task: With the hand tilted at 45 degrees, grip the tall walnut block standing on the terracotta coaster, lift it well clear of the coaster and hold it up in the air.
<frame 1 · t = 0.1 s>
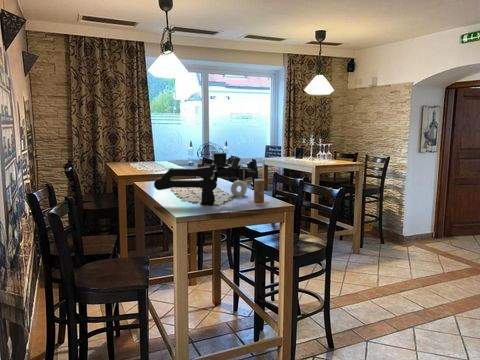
hand: (255, 172, 203), 17 cm above the table, tool horizontal, fingers open, 9 cm apart
donut: (238, 197, 222), on the table
walnut block: (258, 202, 204), point 1 cm above the table, touching coaster
coaster: (258, 204, 204), on the table
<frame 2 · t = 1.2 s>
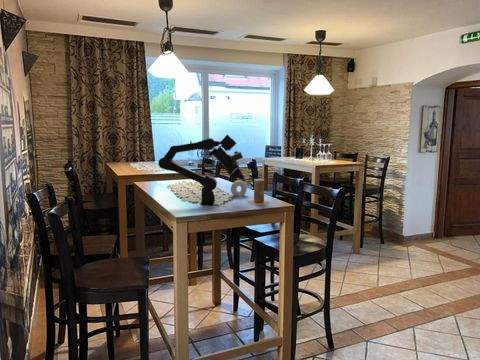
hand: (243, 178, 202), 14 cm above the table, tool tilted 45°, fingers open, 9 cm apart
nothing on the table moved.
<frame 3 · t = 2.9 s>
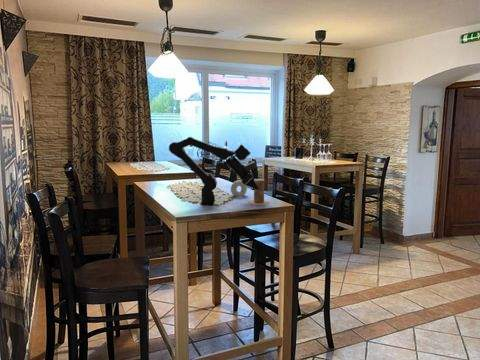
hand: (257, 187, 202), 9 cm above the table, tool tilted 45°, fingers open, 9 cm apart
nothing on the table moved.
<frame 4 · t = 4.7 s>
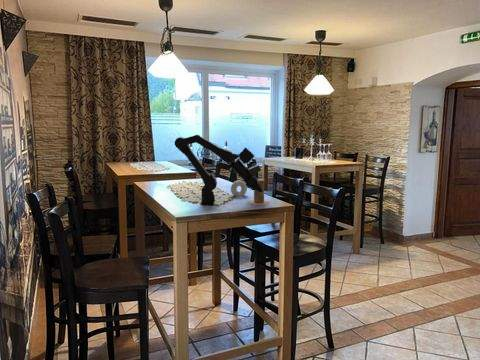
hand: (261, 190, 203), 7 cm above the table, tool tilted 45°, fingers closed on walnut block, 5 cm apart
walnut block: (258, 202, 204), point 1 cm above the table, touching coaster, gripper
everything else where it was.
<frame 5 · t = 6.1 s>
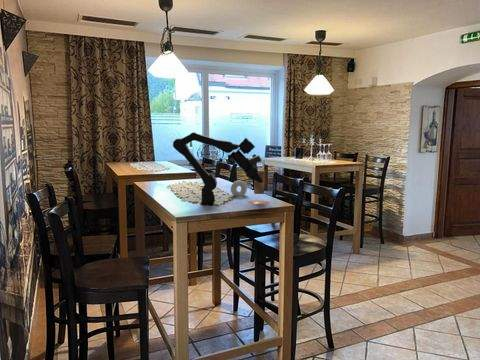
hand: (261, 181, 202), 12 cm above the table, tool tilted 45°, fingers closed on walnut block, 5 cm apart
walnut block: (258, 193, 203), point 6 cm above the table, touching gripper
everything else where it was.
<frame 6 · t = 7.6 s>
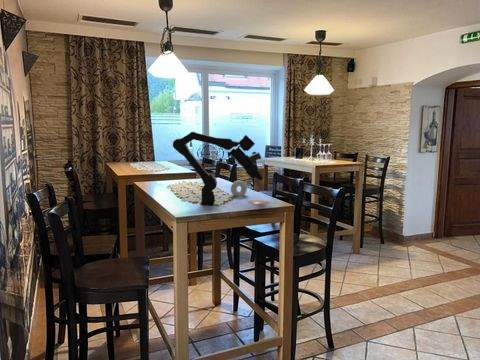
hand: (261, 178, 202), 13 cm above the table, tool tilted 45°, fingers closed on walnut block, 5 cm apart
walnut block: (258, 190, 203), point 7 cm above the table, touching gripper
everything else where it was.
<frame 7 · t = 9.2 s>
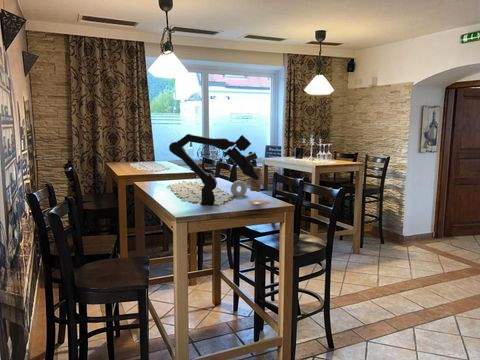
hand: (258, 178, 202), 13 cm above the table, tool tilted 45°, fingers closed on walnut block, 5 cm apart
walnut block: (255, 190, 203), point 7 cm above the table, touching gripper
everything else where it was.
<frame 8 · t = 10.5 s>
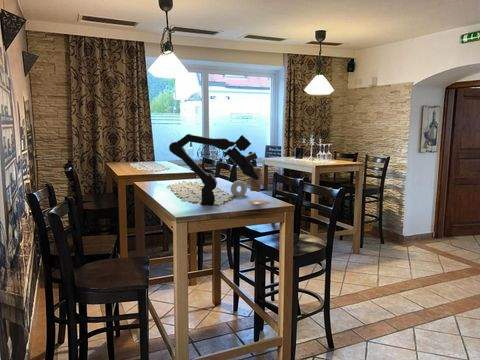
hand: (258, 178, 202), 13 cm above the table, tool tilted 45°, fingers closed on walnut block, 5 cm apart
walnut block: (255, 190, 203), point 7 cm above the table, touching gripper
everything else where it was.
at the end: walnut block point 7.4 cm above the table; the gripper is holding walnut block; walnut block touching gripper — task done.
